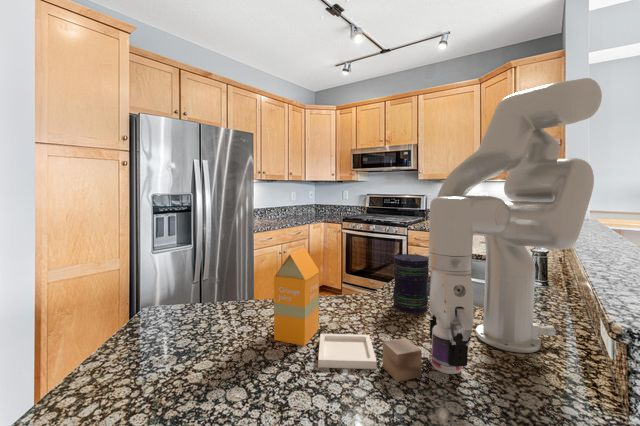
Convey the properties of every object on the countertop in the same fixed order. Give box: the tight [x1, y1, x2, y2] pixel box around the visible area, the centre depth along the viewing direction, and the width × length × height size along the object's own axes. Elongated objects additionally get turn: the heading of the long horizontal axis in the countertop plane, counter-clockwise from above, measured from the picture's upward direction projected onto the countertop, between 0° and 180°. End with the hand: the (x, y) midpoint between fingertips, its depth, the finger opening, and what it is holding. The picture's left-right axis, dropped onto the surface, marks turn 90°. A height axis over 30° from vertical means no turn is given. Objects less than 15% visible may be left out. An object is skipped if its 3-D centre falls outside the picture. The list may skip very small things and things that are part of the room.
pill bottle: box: [431, 319, 463, 375], centre depth 58 cm, size 5×5×10 cm
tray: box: [317, 333, 378, 370], centre depth 63 cm, size 11×11×2 cm
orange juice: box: [273, 247, 320, 347], centre depth 71 cm, size 8×9×20 cm
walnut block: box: [382, 337, 423, 383], centre depth 56 cm, size 5×5×5 cm
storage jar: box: [392, 253, 430, 315], centre depth 89 cm, size 10×10×15 cm
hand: (446, 351), depth 58 cm, fingers open, 9 cm apart
